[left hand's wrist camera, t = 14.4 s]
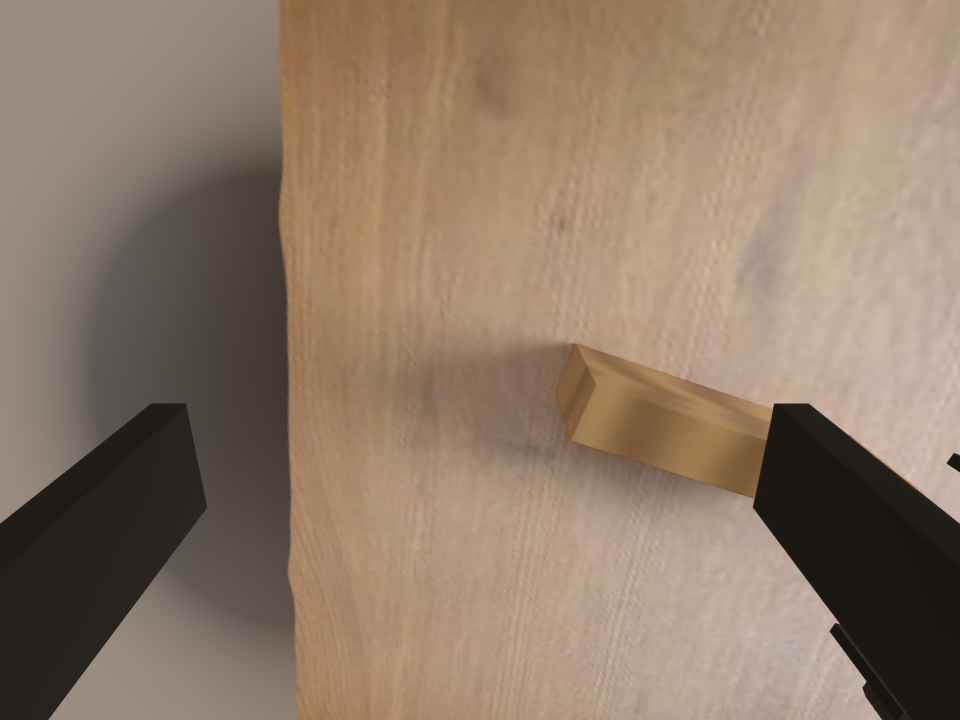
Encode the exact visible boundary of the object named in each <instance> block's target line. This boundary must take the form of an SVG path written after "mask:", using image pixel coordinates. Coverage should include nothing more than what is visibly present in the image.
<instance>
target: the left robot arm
mask: <svg viewBox="0 0 960 720" xmlns="http://www.w3.org/2000/svg"><path fill="white" fill-rule="evenodd" d="M206 508H207V504H206V500H205V495H204V490H203V485H202V480H201V475H200V470H199V465H198V461H197V456H196V451H195V446H194V441H193V436H192V431H191V427H190V422H189V417H188V412H187V407H186V404H150V405H149V406H148V407H147V408H145V409H144V410H143V411H141V412H140V413H139V414H138V415H137V416H135V417H134V418H133V419H131V420H130V421H129V422H128V423H126V424H125V425H124V426H123V427H121V428H120V429H119V430H118V431H116V432H115V433H114V434H113V435H111V436H110V437H109V438H108V439H106V440H105V441H104V442H102V443H101V444H100V445H99V446H97V447H96V448H95V449H94V450H92V451H91V452H90V453H89V454H87V455H86V456H85V457H84V458H82V459H81V460H80V461H79V462H77V463H76V464H75V465H73V466H72V467H71V468H70V469H68V470H67V471H66V472H65V473H63V474H62V475H61V476H60V477H58V478H57V479H56V480H55V481H53V482H52V483H51V484H50V485H48V486H47V487H46V488H44V489H43V490H42V491H41V492H39V493H38V494H37V495H36V496H34V497H33V498H32V499H31V500H29V501H28V502H27V503H26V504H24V505H23V506H22V507H21V508H19V509H18V510H17V511H16V512H14V513H13V514H12V515H11V516H9V517H8V518H7V519H5V520H4V521H3V522H2V523H0V720H48V719H49V718H50V717H51V715H52V714H53V713H54V711H55V710H56V709H57V707H58V706H59V705H60V703H61V702H62V701H63V699H64V698H65V697H66V695H67V694H68V693H69V691H70V690H71V689H72V687H73V686H74V685H75V683H76V682H77V681H78V679H79V678H80V677H81V675H82V674H83V673H84V671H85V670H86V669H87V667H88V666H89V665H90V663H91V662H92V661H93V659H94V658H95V657H96V655H97V654H98V653H99V651H100V650H101V649H102V647H103V646H104V645H105V643H106V642H107V641H108V639H109V638H110V637H111V635H112V634H113V633H114V631H115V630H116V629H117V627H118V626H119V624H120V623H121V622H122V621H123V619H124V618H125V617H126V615H127V614H128V613H129V611H130V610H131V608H132V607H133V606H134V605H135V603H136V602H137V601H138V599H139V598H140V597H141V595H142V594H143V592H144V591H145V590H146V588H147V587H148V586H149V584H150V583H151V582H152V580H153V579H154V578H155V576H156V575H157V574H158V572H159V571H160V570H161V568H162V567H163V566H164V564H165V563H166V562H167V560H168V559H169V558H170V556H171V555H172V554H173V552H174V551H175V550H176V548H177V547H178V546H179V544H180V543H181V542H182V540H183V539H184V538H185V536H186V535H187V534H188V532H189V531H190V530H191V528H192V527H193V526H194V524H195V523H196V522H197V520H198V519H199V518H200V516H201V515H202V514H203V512H204V511H205V510H206ZM753 508H754V510H755V511H756V512H757V514H758V515H759V516H760V518H761V519H762V520H763V522H764V523H765V524H766V526H767V527H768V528H769V530H770V531H771V532H772V534H773V535H774V536H775V538H776V539H777V540H778V542H779V543H780V544H781V546H782V547H783V548H784V550H785V551H786V552H787V554H788V555H789V556H790V558H791V559H792V560H793V562H794V563H795V564H796V566H797V567H798V568H799V570H800V571H801V572H802V574H803V575H804V576H805V578H806V579H807V580H808V582H809V583H810V584H811V586H812V587H813V588H814V590H815V591H816V592H817V594H818V595H819V597H820V598H821V599H822V601H823V602H824V603H825V605H826V606H827V607H828V609H829V610H830V611H831V613H832V614H833V615H834V617H835V618H836V619H837V621H838V622H839V623H840V625H841V626H842V627H843V629H844V630H845V631H846V633H847V634H848V635H849V637H850V638H851V639H852V641H853V642H854V643H855V645H856V646H857V647H858V649H859V650H860V651H861V653H862V654H863V655H864V657H865V658H866V659H867V661H868V662H869V663H870V665H871V666H872V667H873V669H874V670H875V671H876V673H877V674H878V675H879V677H880V678H881V679H882V681H883V682H884V683H885V685H886V686H887V687H888V689H889V690H890V691H891V693H892V694H893V695H894V697H895V698H896V699H897V701H898V702H899V703H900V705H901V706H902V707H903V709H904V710H905V711H906V713H907V714H908V715H909V717H910V718H911V719H912V720H960V523H958V522H957V521H956V520H955V519H953V518H952V517H951V516H950V515H948V514H947V513H946V512H944V511H943V510H942V509H941V508H939V507H938V506H937V505H936V504H934V503H933V502H932V501H931V500H929V499H928V498H927V497H926V496H924V495H923V494H922V493H921V492H919V491H918V490H917V489H916V488H914V487H913V486H912V485H910V484H909V483H908V482H907V481H905V480H904V479H903V478H902V477H900V476H899V475H898V474H897V473H895V472H894V471H893V470H892V469H890V468H889V467H888V466H887V465H885V464H884V463H883V462H882V461H880V460H879V459H878V458H876V457H875V456H874V455H873V454H871V453H870V452H869V451H868V450H866V449H865V448H864V447H863V446H861V445H860V444H859V443H858V442H856V441H855V440H854V439H853V438H851V437H850V436H849V435H847V434H846V433H845V432H844V431H842V430H841V429H840V428H839V427H837V426H836V425H835V424H834V423H832V422H831V421H830V420H829V419H827V418H826V417H825V416H824V415H822V414H821V413H820V412H819V411H817V410H816V409H815V408H813V407H812V406H811V405H810V404H774V407H773V412H772V417H771V422H770V426H769V431H768V436H767V441H766V446H765V451H764V456H763V461H762V465H761V470H760V475H759V480H758V485H757V490H756V495H755V499H754V504H753Z"/></svg>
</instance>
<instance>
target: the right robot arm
mask: <svg viewBox="0 0 960 720" xmlns="http://www.w3.org/2000/svg"><path fill="white" fill-rule="evenodd" d="M946 464H948V465H950V466H951V467H953V468H954V469H956V470H957V471H959V472H960V455H958V454H955V453H953V455H952V456H951V458H950V459H949V461H948V462H947V463H946ZM830 633H831V634H832V635H833V637H834V638H835V639H836V641H837V642H838V643H839V645H840V646H841V647H842V649H843V650H844V652H845V653H846V654H847V656H848V657H849V658H850V660H851V661H852V662H853V664H854V665H855V666H856V668H857V669H858V670H859V672H860V673H861V674H862V676H863V677H864V679H865V680H866V681H867V682H866V683H865V685H864V686H863V687H862V688H863V691H864V693H865V696H866V698H867V699H868V701H869V702H870V704H871V705H872V706H873V708H874V709H875V710H876V711H877V713H878V715H879V716H880V717H881V719H882V720H912V719H911V718H910V717H909V715H908V714H907V713H906V711H905V710H904V709H903V707H902V706H901V705H900V703H899V702H898V701H897V699H896V698H895V697H894V695H893V694H892V693H891V691H890V690H889V689H888V687H887V686H886V685H885V683H884V682H883V681H882V679H881V678H880V677H879V675H878V674H877V673H876V671H875V670H874V669H873V667H872V666H871V665H870V663H869V662H868V661H867V659H866V658H865V657H864V655H863V654H862V653H861V651H860V650H859V649H858V647H857V646H856V645H855V643H854V642H853V641H852V639H851V638H850V637H849V635H848V634H847V633H846V631H845V630H844V629H843V627H842V626H841V625H840V624H837V623H835V624H834V626H833V627H832V628H831V630H830Z"/></svg>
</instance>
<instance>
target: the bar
mask: <svg viewBox="0 0 960 720" xmlns="http://www.w3.org/2000/svg"><path fill="white" fill-rule="evenodd" d="M556 395H557V398H558V401H559V405H560V408H561V411H562V415H563V418H564V421H565V424H566V428H567V431H568V434H569V438H570V441H573V442H576V443H579V444H582V445H586V446H589V447H592V448H595V449H598V450H602V451H605V452H608V453H611V454H614V455H617V456H621V457H624V458H627V459H630V460H633V461H637V462H640V463H643V464H646V465H649V466H653V467H656V468H659V469H662V470H665V471H669V472H672V473H675V474H678V475H681V476H684V477H688V478H691V479H694V480H697V481H700V482H704V483H707V484H710V485H713V486H716V487H720V488H723V489H726V490H729V491H732V492H735V493H739V494H742V495H745V496H748V497H751V498H755V495H756V490H757V485H758V480H759V475H760V470H761V465H762V461H763V456H764V451H765V446H766V441H767V436H768V431H769V426H770V422H771V417H772V412H773V410H772V409H769V408H766V407H764V406H761V405H758V404H755V403H752V402H749V401H746V400H743V399H740V398H737V397H734V396H731V395H728V394H725V393H722V392H719V391H716V390H713V389H710V388H707V387H704V386H701V385H698V384H695V383H692V382H689V381H686V380H683V379H680V378H677V377H674V376H671V375H668V374H665V373H662V372H659V371H656V370H653V369H650V368H647V367H644V366H641V365H638V364H636V363H633V362H630V361H627V360H624V359H621V358H618V357H615V356H612V355H609V354H606V353H603V352H600V351H597V350H594V349H591V348H588V347H585V346H582V345H579V344H576V346H575V348H574V350H573V353H572V355H571V357H570V360H569V362H568V364H567V366H566V369H565V371H564V373H563V376H562V378H561V380H560V383H559V385H558V387H557V390H556ZM849 436H850V435H849ZM850 437H851V438H853V437H852V436H850ZM853 439H854V440H855V441H856V442H858V441H857V440H856V439H855V438H853ZM858 443H859V444H860V445H861V446H863V445H862V444H861V443H860V442H858ZM863 447H864V448H865V449H866V450H868V449H867V448H866V447H865V446H863ZM868 451H869V452H870V453H871V454H873V455H874V456H875V457H876V458H878V459H879V460H880V461H882V460H881V459H880V458H879V457H877V456H876V455H875V454H874V453H872V452H871V451H870V450H868ZM882 462H883V463H884V464H885V465H887V464H886V463H885V462H884V461H882ZM887 466H888V467H889V468H890V469H892V470H893V471H894V472H895V473H897V474H898V475H899V476H900V477H902V478H903V479H904V480H905V481H907V482H908V483H909V484H910V485H912V486H913V487H914V488H916V489H917V490H918V491H919V492H921V491H920V490H919V489H918V488H917V487H915V486H914V485H913V484H912V483H910V482H909V481H908V480H907V479H905V478H904V477H903V476H901V475H900V474H899V473H898V472H896V471H895V470H894V469H893V468H891V467H890V466H889V465H887Z"/></svg>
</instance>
